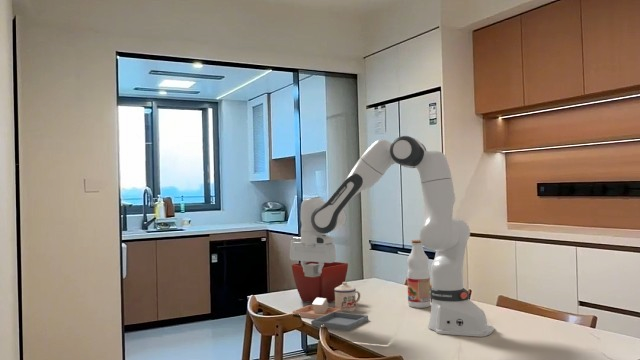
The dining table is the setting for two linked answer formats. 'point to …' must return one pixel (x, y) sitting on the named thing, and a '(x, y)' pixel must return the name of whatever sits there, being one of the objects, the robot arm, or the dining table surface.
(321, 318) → the tray
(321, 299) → the stone
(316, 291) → the plant pot
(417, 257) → the fruit juice
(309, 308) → the tray
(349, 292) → the teacup with lid
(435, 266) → the robot arm
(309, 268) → the stone
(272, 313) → the dining table surface
